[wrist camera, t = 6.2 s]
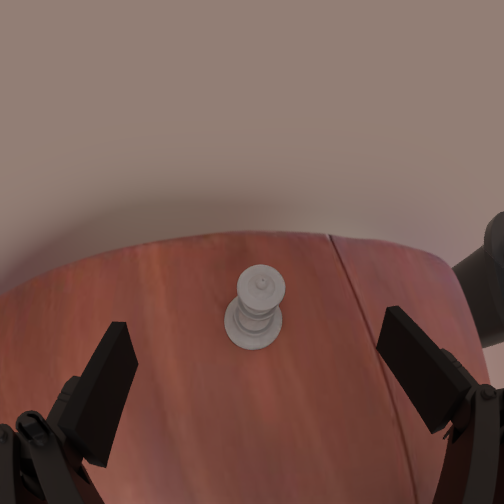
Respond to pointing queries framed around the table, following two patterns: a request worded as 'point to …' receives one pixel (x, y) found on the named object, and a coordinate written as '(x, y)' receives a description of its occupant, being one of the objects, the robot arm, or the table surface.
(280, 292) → the chess piece
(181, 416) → the table surface
